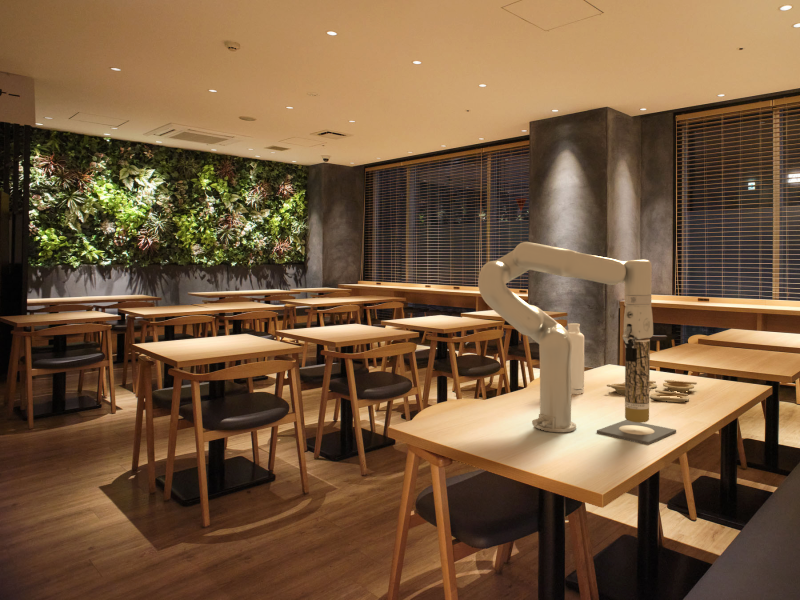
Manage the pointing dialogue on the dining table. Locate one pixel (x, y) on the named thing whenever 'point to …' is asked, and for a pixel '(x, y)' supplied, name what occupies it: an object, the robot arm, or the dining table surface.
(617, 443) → the dining table surface
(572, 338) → the bottle
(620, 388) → the tableware set
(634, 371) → the bark-textured tube
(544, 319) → the robot arm
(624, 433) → the card
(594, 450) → the dining table surface
